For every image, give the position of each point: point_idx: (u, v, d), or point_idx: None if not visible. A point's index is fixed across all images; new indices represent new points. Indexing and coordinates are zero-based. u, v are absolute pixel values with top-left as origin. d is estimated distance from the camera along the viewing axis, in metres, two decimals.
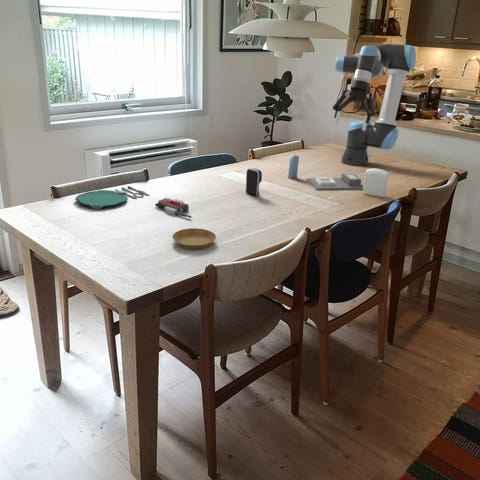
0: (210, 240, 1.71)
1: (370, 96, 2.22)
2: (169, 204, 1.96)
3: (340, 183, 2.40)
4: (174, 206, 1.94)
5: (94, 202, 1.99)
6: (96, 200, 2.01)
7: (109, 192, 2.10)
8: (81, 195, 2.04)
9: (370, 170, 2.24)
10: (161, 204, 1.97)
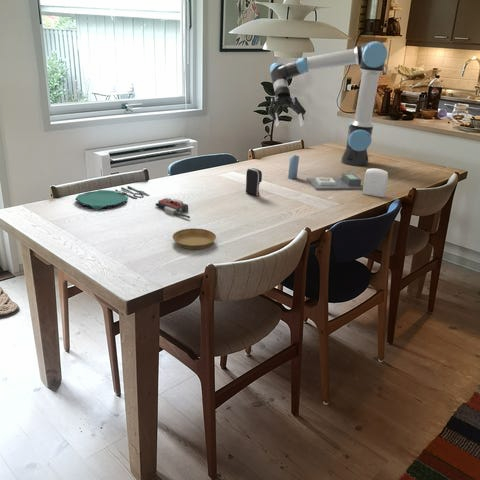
0: (210, 240, 1.71)
1: None
2: (169, 204, 1.96)
3: (340, 183, 2.40)
4: (173, 206, 1.94)
5: (94, 202, 1.98)
6: (96, 200, 2.01)
7: (109, 192, 2.10)
8: (81, 195, 2.03)
9: (370, 170, 2.24)
10: (161, 204, 1.98)
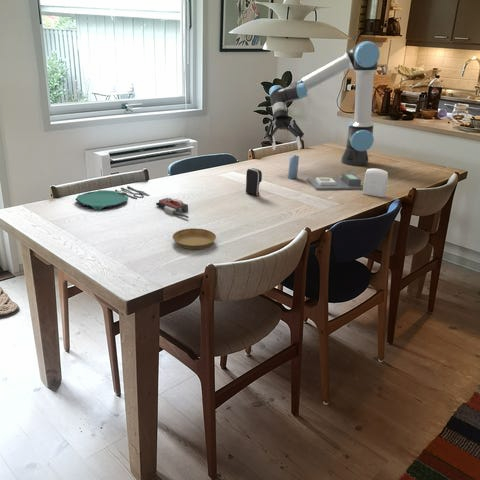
0: (210, 240, 1.71)
1: None
2: (169, 204, 1.96)
3: (340, 183, 2.40)
4: (173, 206, 1.95)
5: (95, 202, 1.98)
6: (96, 200, 2.00)
7: (109, 192, 2.09)
8: (81, 195, 2.03)
9: (370, 170, 2.24)
10: (161, 203, 1.98)
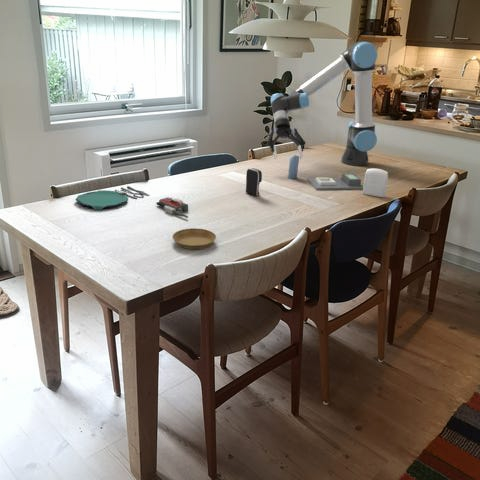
0: (210, 240, 1.71)
1: None
2: (169, 203, 1.97)
3: (340, 183, 2.40)
4: (173, 205, 1.95)
5: (95, 203, 1.98)
6: (97, 200, 2.00)
7: (109, 192, 2.09)
8: (81, 196, 2.03)
9: (370, 170, 2.24)
10: (161, 203, 1.99)
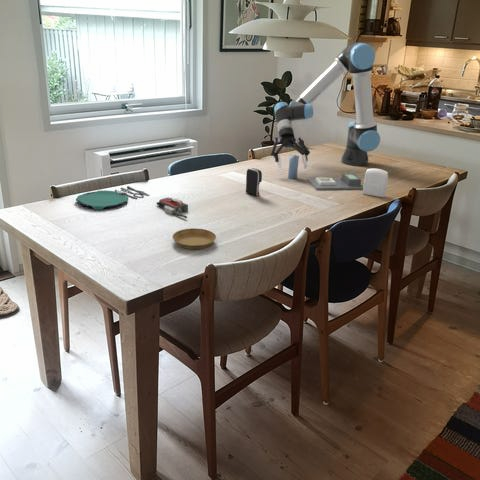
0: (210, 240, 1.71)
1: None
2: (169, 203, 1.97)
3: (340, 183, 2.40)
4: (173, 205, 1.95)
5: (95, 203, 1.98)
6: (97, 201, 2.00)
7: (109, 192, 2.09)
8: (81, 196, 2.03)
9: (370, 170, 2.24)
10: (162, 203, 1.99)
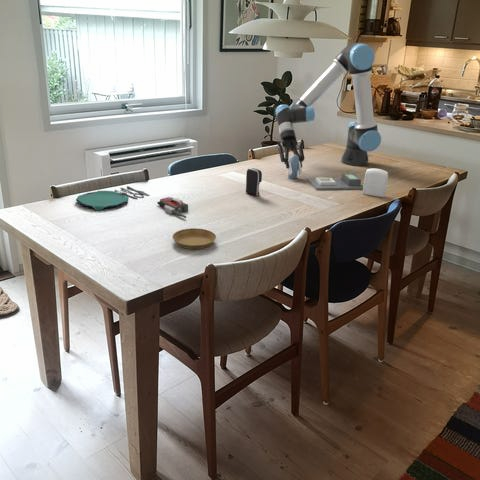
0: (210, 240, 1.71)
1: None
2: (169, 203, 1.97)
3: (340, 183, 2.40)
4: (173, 205, 1.95)
5: (95, 203, 1.98)
6: (97, 201, 2.00)
7: (109, 193, 2.09)
8: (81, 196, 2.03)
9: (370, 170, 2.24)
10: (162, 202, 1.99)
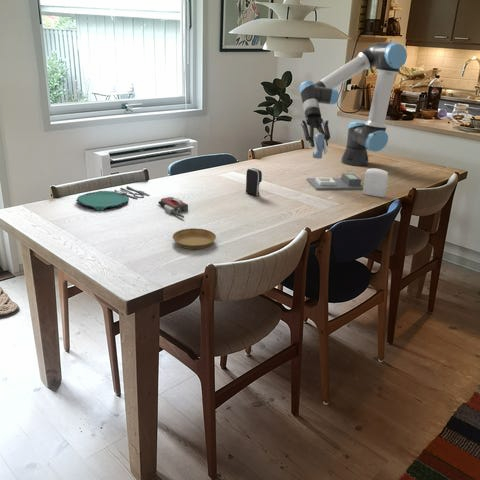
0: (210, 240, 1.71)
1: None
2: (169, 203, 1.97)
3: (340, 183, 2.40)
4: (172, 205, 1.95)
5: (96, 203, 1.98)
6: (97, 201, 2.00)
7: (109, 193, 2.09)
8: (82, 196, 2.02)
9: (370, 170, 2.24)
10: (163, 202, 2.00)
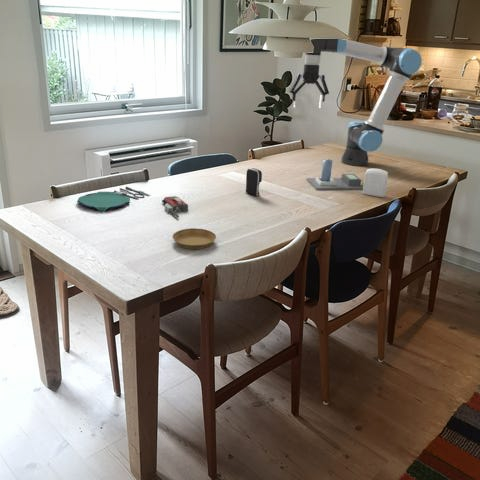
0: (210, 240, 1.70)
1: None
2: (170, 202, 1.99)
3: (340, 183, 2.40)
4: (172, 204, 1.96)
5: (97, 204, 1.97)
6: (99, 202, 1.99)
7: (109, 193, 2.08)
8: (82, 197, 2.01)
9: (370, 170, 2.24)
10: (165, 201, 2.02)
